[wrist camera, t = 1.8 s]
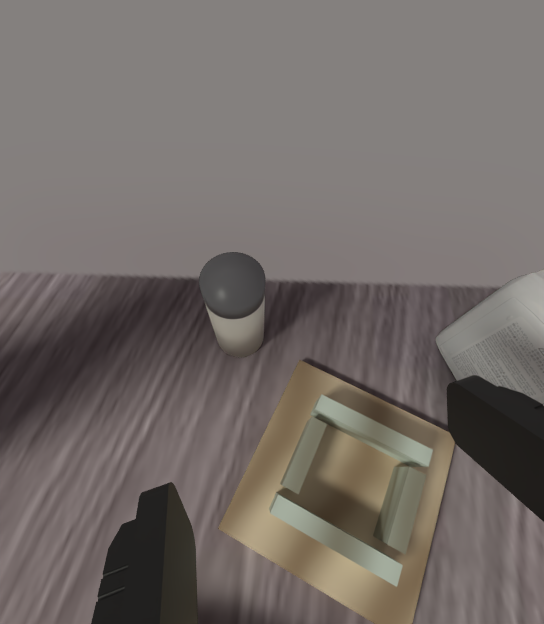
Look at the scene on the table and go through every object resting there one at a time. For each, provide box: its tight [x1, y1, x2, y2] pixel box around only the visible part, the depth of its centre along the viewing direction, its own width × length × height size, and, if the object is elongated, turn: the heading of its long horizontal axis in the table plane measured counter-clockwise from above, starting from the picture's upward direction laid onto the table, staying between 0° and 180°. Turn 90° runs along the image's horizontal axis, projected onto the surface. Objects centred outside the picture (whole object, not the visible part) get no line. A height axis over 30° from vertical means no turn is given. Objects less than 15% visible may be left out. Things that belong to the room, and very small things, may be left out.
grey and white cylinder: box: [199, 252, 265, 357], centre depth 27 cm, size 4×4×10 cm
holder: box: [218, 360, 455, 624], centre depth 24 cm, size 14×14×4 cm
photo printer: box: [436, 269, 544, 406], centre depth 24 cm, size 10×4×12 cm, turn 21°
